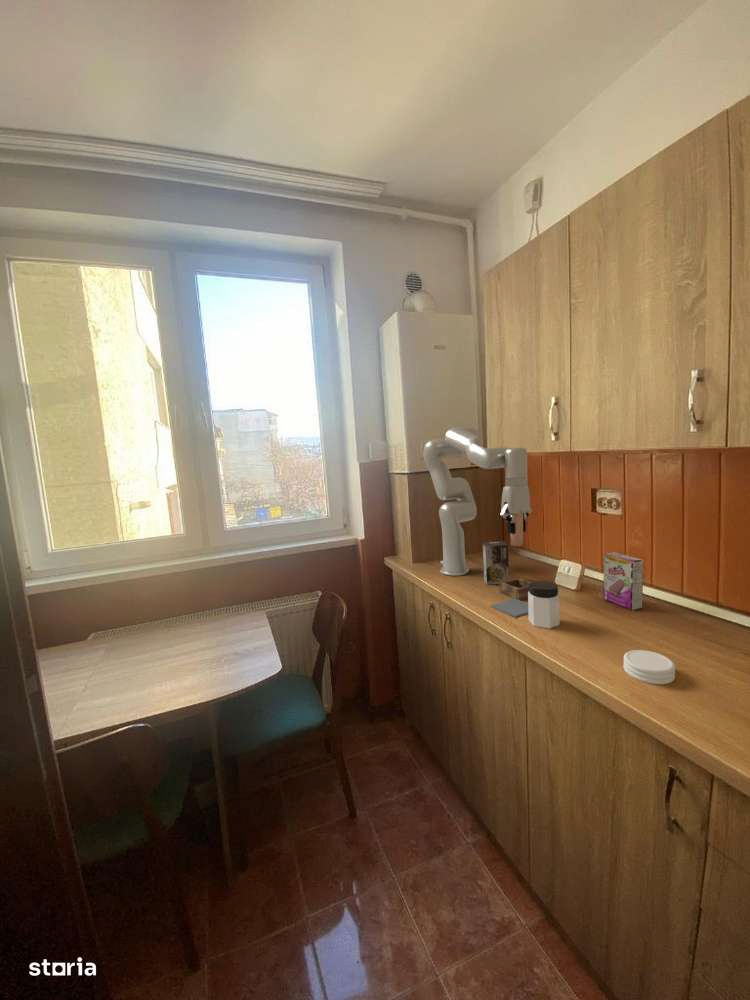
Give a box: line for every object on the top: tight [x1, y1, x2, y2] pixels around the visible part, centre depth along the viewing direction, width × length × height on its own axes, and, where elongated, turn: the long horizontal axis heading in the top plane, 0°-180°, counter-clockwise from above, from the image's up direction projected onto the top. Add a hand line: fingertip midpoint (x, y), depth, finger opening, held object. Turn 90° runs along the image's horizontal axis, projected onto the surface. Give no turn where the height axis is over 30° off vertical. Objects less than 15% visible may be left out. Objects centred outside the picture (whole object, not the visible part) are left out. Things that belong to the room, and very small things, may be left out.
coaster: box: [623, 649, 676, 685], centre depth 94 cm, size 10×10×4 cm
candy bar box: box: [602, 551, 644, 611], centre depth 133 cm, size 11×5×16 cm, turn 18°
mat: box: [490, 598, 528, 618], centre depth 136 cm, size 11×11×1 cm
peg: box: [509, 510, 524, 547], centre depth 146 cm, size 4×4×13 cm
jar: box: [527, 580, 561, 630], centre depth 123 cm, size 9×8×12 cm
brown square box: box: [499, 577, 533, 601], centre depth 149 cm, size 9×9×4 cm
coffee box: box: [482, 541, 510, 585], centre depth 163 cm, size 9×6×16 cm
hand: (516, 531), depth 146 cm, fingers closed on peg, 4 cm apart
